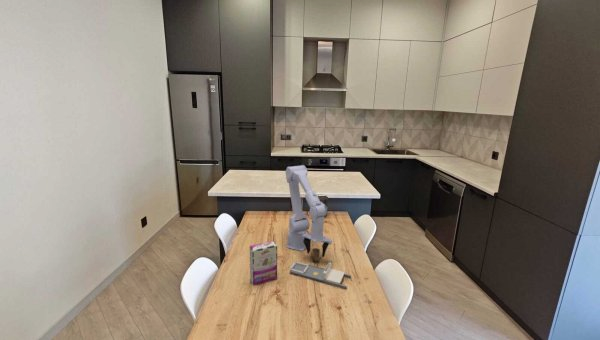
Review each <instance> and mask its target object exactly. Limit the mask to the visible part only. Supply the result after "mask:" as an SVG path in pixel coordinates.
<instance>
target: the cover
mask: <svg viewBox="0 0 600 340" xmlns="http://www.w3.org/2000/svg"><path fill="white" fill-rule="evenodd" d="M324 269H325V270H324V272H323V280H324V281H328V282H332V283H335V284H339V285H341V283H342V281H343V278H344V277H343V276H344V274H346V273H345V272H344V271H341V270H338V269H334V268H332V262H328V263H327V264H326V267H325V268H324Z"/></svg>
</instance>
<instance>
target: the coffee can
mask: <svg viewBox="0 0 600 340" xmlns="http://www.w3.org/2000/svg"><path fill="white" fill-rule="evenodd" d="M318 198H319V200H320V202H322V203H323V204H324V205H325V206H326V209H327V210H328V203H329V202H328V201H329V197H328V196H327V195H325V196H318ZM327 215H328V213H327V214H326V215H325V216H324V218H325V219H327V218H326V217H328V216H327Z"/></svg>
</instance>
